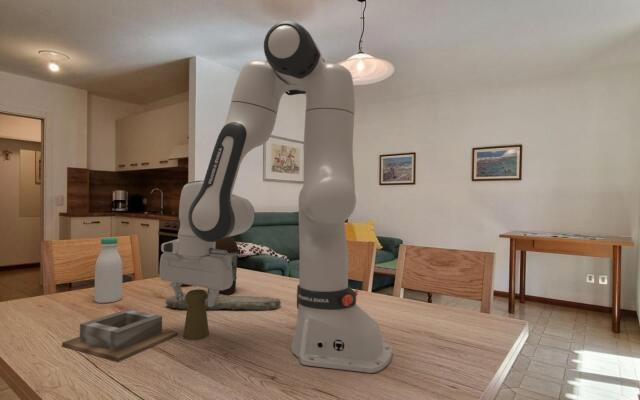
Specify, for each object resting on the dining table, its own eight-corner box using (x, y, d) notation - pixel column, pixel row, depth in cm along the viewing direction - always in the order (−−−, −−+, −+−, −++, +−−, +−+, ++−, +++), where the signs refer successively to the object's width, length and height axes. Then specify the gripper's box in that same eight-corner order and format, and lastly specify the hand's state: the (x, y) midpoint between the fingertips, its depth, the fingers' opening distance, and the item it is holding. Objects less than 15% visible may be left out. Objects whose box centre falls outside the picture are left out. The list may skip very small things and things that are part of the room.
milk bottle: (127, 299, 119) (127, 238, 119) (102, 305, 112) (103, 240, 112) (114, 295, 123) (114, 236, 123) (89, 300, 117) (90, 238, 116)
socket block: (177, 335, 89) (177, 315, 89) (118, 361, 75) (118, 338, 74) (125, 323, 96) (125, 305, 96) (62, 346, 82) (62, 324, 82)
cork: (201, 341, 86) (201, 294, 86) (177, 338, 87) (178, 292, 87) (213, 331, 92) (214, 288, 92) (191, 329, 93) (192, 286, 93)
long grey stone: (278, 318, 108) (281, 309, 118) (279, 300, 108) (282, 293, 118) (159, 310, 107) (172, 302, 117) (160, 292, 108) (173, 285, 118)
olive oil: (200, 292, 130) (201, 221, 130) (227, 287, 137) (228, 220, 137) (215, 298, 122) (216, 223, 122) (243, 292, 129) (244, 222, 129)
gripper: (239, 249, 88) (237, 306, 88) (175, 241, 96) (173, 294, 97) (222, 252, 83) (220, 313, 83) (156, 244, 91) (153, 299, 91)
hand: (194, 303), depth 90 cm, fingers open, 8 cm apart
